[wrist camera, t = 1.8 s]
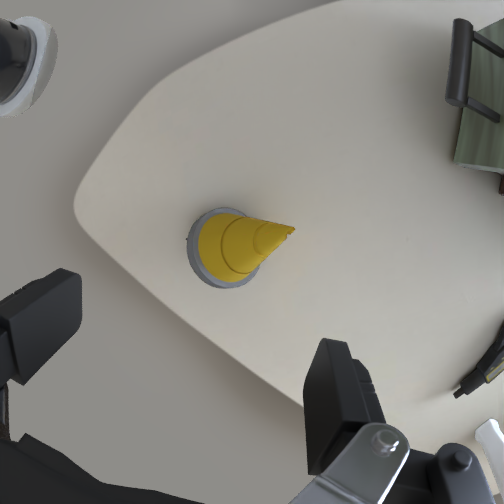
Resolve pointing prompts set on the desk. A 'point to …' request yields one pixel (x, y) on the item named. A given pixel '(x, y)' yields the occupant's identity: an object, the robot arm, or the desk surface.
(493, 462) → the perfume bottle
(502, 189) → the dresser
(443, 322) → the desk surface
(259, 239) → the yellow stepped cone
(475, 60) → the drawer
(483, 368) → the micrometer
